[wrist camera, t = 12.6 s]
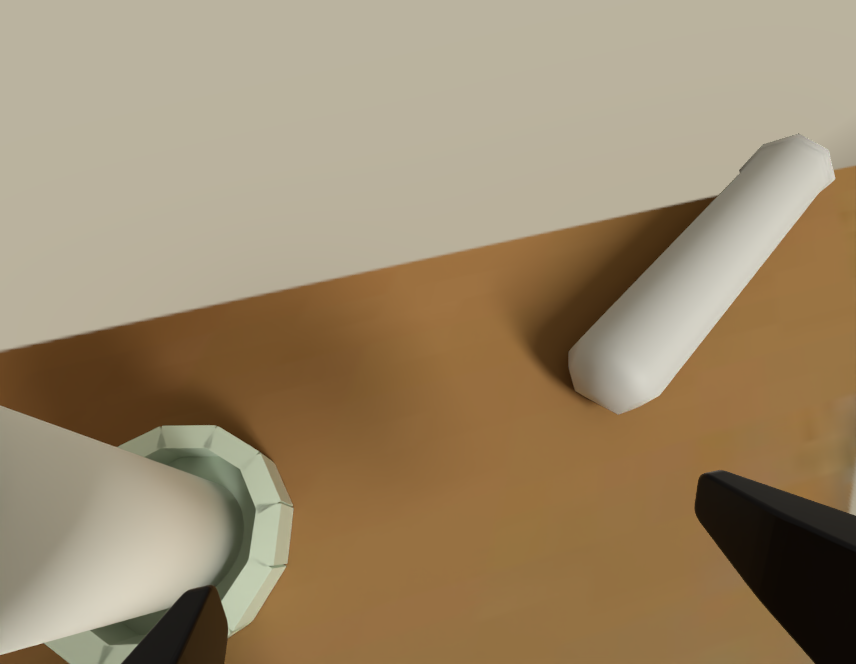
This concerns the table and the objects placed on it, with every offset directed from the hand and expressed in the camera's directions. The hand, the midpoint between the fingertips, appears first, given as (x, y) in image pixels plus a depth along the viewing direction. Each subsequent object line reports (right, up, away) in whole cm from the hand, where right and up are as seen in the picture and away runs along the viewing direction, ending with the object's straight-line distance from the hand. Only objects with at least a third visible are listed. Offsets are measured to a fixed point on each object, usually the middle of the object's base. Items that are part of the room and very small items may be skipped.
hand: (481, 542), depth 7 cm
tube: (+16, +7, +21) cm, 27 cm away
